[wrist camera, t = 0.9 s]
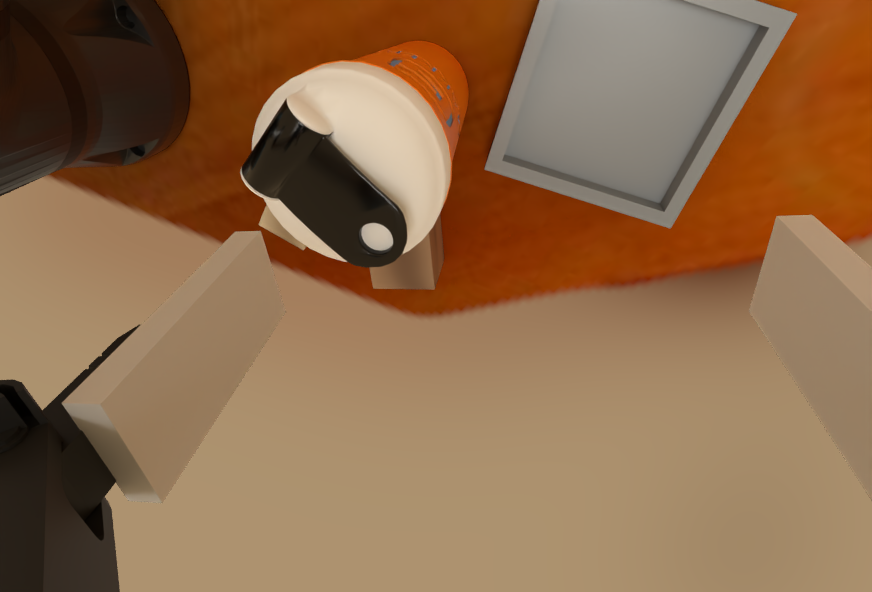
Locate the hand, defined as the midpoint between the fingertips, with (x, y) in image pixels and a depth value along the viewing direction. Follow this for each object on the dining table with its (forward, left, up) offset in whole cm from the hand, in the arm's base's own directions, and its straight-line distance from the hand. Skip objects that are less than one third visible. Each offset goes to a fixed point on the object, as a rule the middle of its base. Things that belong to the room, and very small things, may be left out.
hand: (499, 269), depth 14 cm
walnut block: (-5, -14, -26) cm, 30 cm away
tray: (+6, +1, -26) cm, 27 cm away
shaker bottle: (-7, -3, -26) cm, 27 cm away
